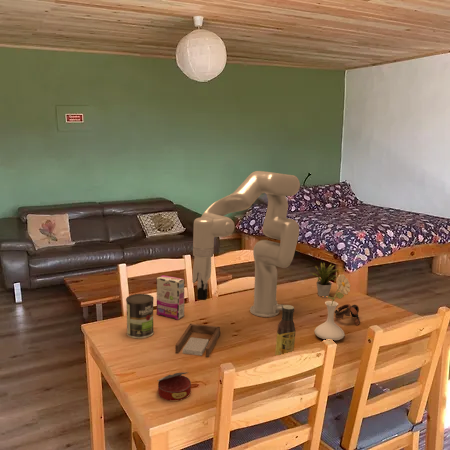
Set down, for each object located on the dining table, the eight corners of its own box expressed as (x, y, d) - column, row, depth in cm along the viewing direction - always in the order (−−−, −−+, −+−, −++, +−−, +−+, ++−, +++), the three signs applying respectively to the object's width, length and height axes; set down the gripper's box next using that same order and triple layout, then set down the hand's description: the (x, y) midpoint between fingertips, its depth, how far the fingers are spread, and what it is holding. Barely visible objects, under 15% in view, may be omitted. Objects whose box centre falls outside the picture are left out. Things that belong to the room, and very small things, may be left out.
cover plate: (208, 344, 177) (208, 339, 177) (201, 357, 168) (201, 351, 167) (190, 342, 179) (190, 337, 178) (182, 354, 169) (182, 349, 169)
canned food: (161, 412, 143) (144, 385, 141) (171, 391, 152) (156, 365, 150) (193, 402, 139) (176, 374, 137) (201, 381, 148) (186, 354, 146)
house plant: (331, 304, 218) (334, 269, 215) (303, 297, 226) (305, 264, 222) (342, 295, 230) (345, 262, 227) (315, 289, 237) (317, 257, 234)
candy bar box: (185, 316, 201) (185, 278, 198) (178, 320, 197) (178, 282, 193) (163, 310, 206) (162, 274, 203) (156, 314, 202) (155, 277, 198)
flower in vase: (325, 345, 177) (330, 281, 172) (308, 333, 188) (312, 272, 182) (354, 340, 183) (359, 277, 177) (335, 328, 193) (340, 268, 187)
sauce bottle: (281, 367, 161) (284, 311, 157) (271, 359, 166) (273, 305, 162) (297, 363, 164) (300, 308, 160) (286, 355, 169) (289, 302, 165)
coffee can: (159, 332, 185) (159, 298, 182) (137, 341, 177) (137, 305, 174) (142, 325, 192) (142, 291, 189) (121, 332, 184) (120, 298, 181)
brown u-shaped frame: (220, 334, 185) (220, 326, 184) (208, 357, 167) (208, 349, 166) (190, 330, 187) (190, 323, 187) (175, 353, 169) (175, 345, 168)
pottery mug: (355, 329, 193) (346, 312, 192) (337, 332, 200) (328, 315, 199) (368, 314, 201) (359, 297, 200) (350, 317, 208) (341, 301, 207)
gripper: (198, 245, 183) (197, 291, 187) (187, 255, 169) (186, 305, 172) (217, 247, 182) (216, 293, 185) (208, 257, 167) (207, 307, 171)
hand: (202, 298), depth 179 cm, fingers closed
